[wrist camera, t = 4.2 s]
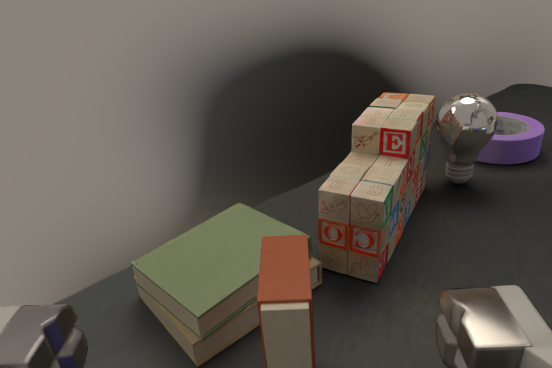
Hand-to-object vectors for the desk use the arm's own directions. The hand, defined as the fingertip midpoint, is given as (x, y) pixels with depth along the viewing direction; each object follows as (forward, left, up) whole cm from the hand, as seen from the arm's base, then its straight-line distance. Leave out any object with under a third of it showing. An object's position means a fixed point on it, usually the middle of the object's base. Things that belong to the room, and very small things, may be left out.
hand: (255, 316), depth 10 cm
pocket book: (0, -13, -21) cm, 25 cm away
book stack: (+6, -25, -21) cm, 33 cm away
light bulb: (-22, -43, -22) cm, 53 cm away
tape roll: (-31, -53, -22) cm, 65 cm away
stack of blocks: (-10, -35, -22) cm, 43 cm away
